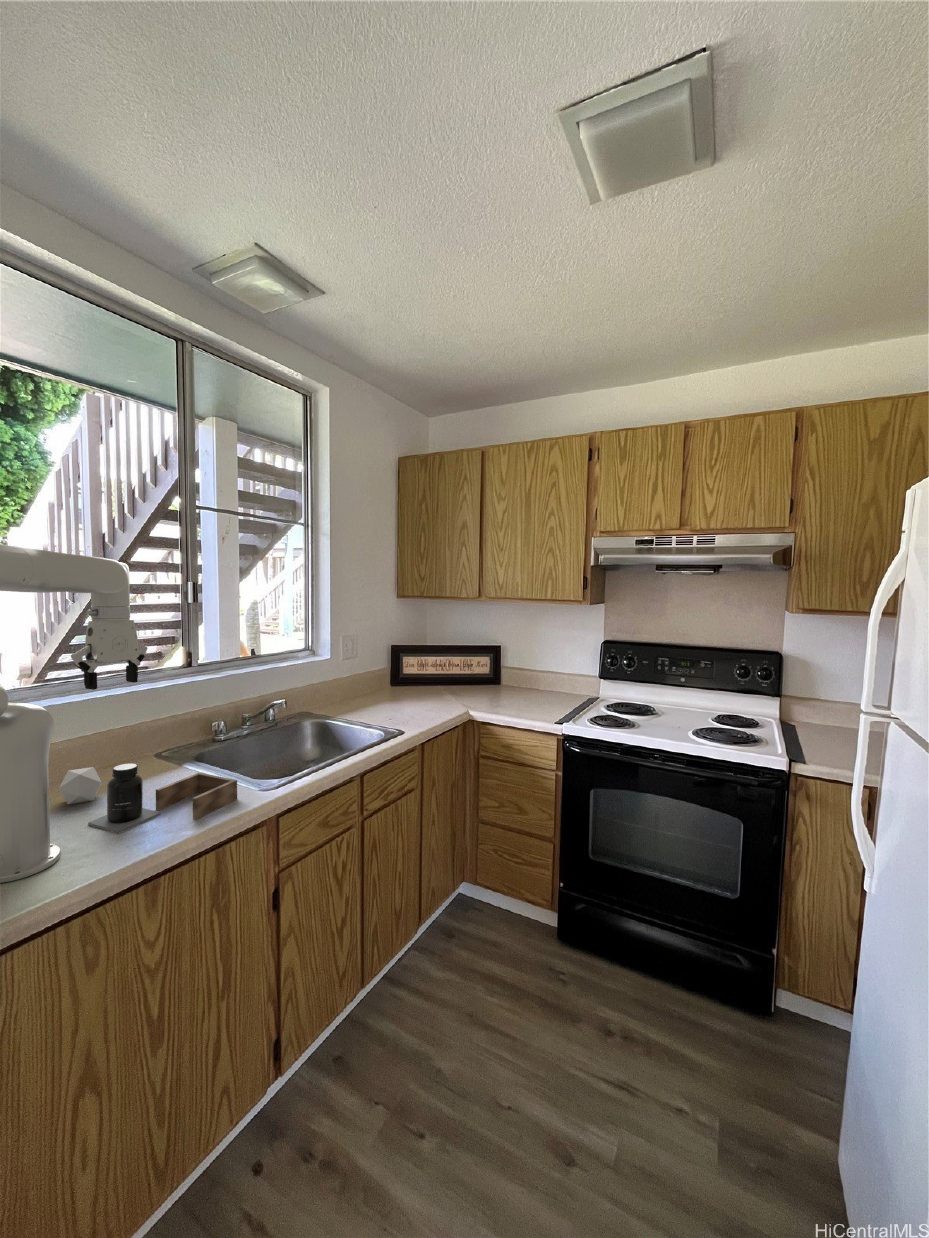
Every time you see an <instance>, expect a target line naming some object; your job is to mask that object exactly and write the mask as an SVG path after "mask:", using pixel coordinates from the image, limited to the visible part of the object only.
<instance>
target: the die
mask: <svg viewBox="0 0 929 1238" xmlns="http://www.w3.org/2000/svg"><path fill="white" fill-rule="evenodd" d="M102 783H103V782H102V781H101V779H100V776H99V774H98V773H97V770H96V769H95V767H94V766H92V767H90V766H89V767H84V768H78V769H69V770H68V771H67V773H65V776H64V778H63V780H62V781H61V784H60V786H59V787H58V790H59V791H60V793H61V795H62V797H63V798H64V800H65V802H66V805H73V804H79V803H85V802H91V801H94V800H95V798H96V795H97V793H98V792H99V789H100V787H101V785H102Z"/></svg>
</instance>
